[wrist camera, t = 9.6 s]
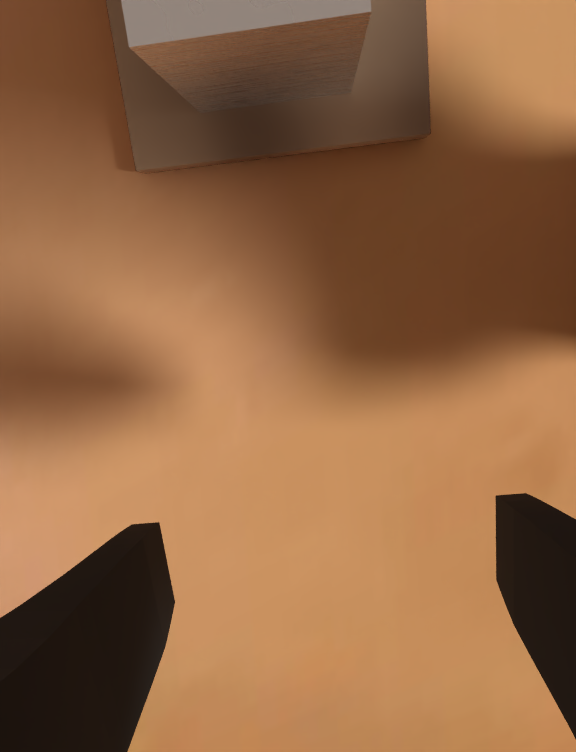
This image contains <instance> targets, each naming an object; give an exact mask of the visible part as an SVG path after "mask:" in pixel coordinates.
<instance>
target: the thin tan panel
mask: <svg viewBox="0 0 576 752" xmlns="http://www.w3.org/2000/svg"><path fill="white" fill-rule="evenodd" d="M106 4H107V10H108V15H109V21H110V27H111V32H112V38H113V44H114V49H115V55H116V60H117V66H118V72H119V77H120V83H121V89H122V94H123V100H124V106H125V111H126V117H127V123H128V128H129V134H130V140H131V145H132V151H133V157H134V162H135V168H136V171H138V172H142V173H152V172H159V171H167V170H175V169H183V168H191V167H199V166H207V165H215V164H223V163H230V162H238V161H246V160H254V159H262V158H270V157H278V156H286V155H294V154H301V153H309V152H317V151H325V150H333V149H341V148H349V147H357V146H365V145H372V144H380V143H388V142H396V141H404V140H412V139H420V138H425V137H427V136H428V135H429V134H430V133H431V129H430V102H429V74H428V47H427V19H426V0H371V15H370V19H369V23H368V27H367V31H366V35H365V39H364V43H363V47H362V51H361V55H360V59H359V63H358V67H357V71H356V75H355V79H354V83H353V87H352V91H351V93H344V94H337V95H330V96H322V97H315V98H307V99H300V100H293V101H285V102H278V103H270V104H263V105H256V106H248V107H241V108H233V109H226V110H219V111H211V112H204V113H200V112H199V111H198V110H197V109H196V108H195V107H193V106H192V105H191V104H190V103H189V102H188V101H187V100H186V99H185V98H184V97H183V96H181V95H180V94H179V93H178V92H177V91H176V90H175V89H174V88H173V87H172V86H171V85H170V84H168V83H167V82H166V81H165V80H164V79H163V78H162V77H161V76H160V75H159V74H158V73H156V72H155V71H154V70H153V69H152V68H151V67H150V66H149V65H148V64H147V63H146V62H145V61H143V60H142V59H141V58H140V57H139V56H138V55H137V54H136V53H135V52H134V51H133V50H131V49H130V48H129V44H128V38H127V32H126V26H125V20H124V14H123V9H122V3H121V0H106Z"/></svg>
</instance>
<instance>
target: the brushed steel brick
mask: <svg viewBox="0 0 576 752" xmlns="http://www.w3.org/2000/svg"><path fill="white" fill-rule="evenodd" d="M121 3H122V9H123V14H124V20H125V26H126V32H127V38H128V44H129V48H130V49H131V50H133V51H134V52H135V53H136V54H137V55H138V56H139V57H140V58H141V59H142V60H143V61H145V62H146V63H147V64H148V65H149V66H150V67H151V68H152V69H153V70H154V71H155V72H156V73H158V74H159V75H160V76H161V77H162V78H163V79H164V80H165V81H166V82H167V83H168V84H170V85H171V86H172V87H173V88H174V89H175V90H176V91H177V92H178V93H179V94H180V95H181V96H183V97H184V98H185V99H186V100H187V101H188V102H189V103H190V104H191V105H192V106H193V107H195V108H196V109H197V110H198V111H199V112H200V113H204V112H211V111H219V110H226V109H233V108H241V107H248V106H256V105H263V104H270V103H278V102H285V101H293V100H300V99H307V98H315V97H322V96H330V95H337V94H344V93H351V91H352V87H353V83H354V79H355V75H356V71H357V67H358V63H359V59H360V55H361V51H362V47H363V43H364V39H365V35H366V31H367V27H368V23H369V19H370V15H371V0H121Z"/></svg>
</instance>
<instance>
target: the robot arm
mask: <svg viewBox="0 0 576 752" xmlns="http://www.w3.org/2000/svg"><path fill="white" fill-rule="evenodd" d="M496 580H497V583H498V585H499V588H500V591H501V593H502V596H503V599H504V601H505V604H506V607H507V609H508V612H509V614H510V617H511V619H512V621H513V624H514V626H515V628H516V630H517V632H518V634H519V635H520V637H521V639H522V641H523V643H524V645H525V647H526V648H527V650H528V652H529V654H530V656H531V658H532V660H533V661H534V663H535V665H536V667H537V669H538V671H539V672H540V674H541V676H542V678H543V680H544V681H545V683H546V685H547V687H548V689H549V691H550V692H551V694H552V696H553V698H554V700H555V701H556V703H557V705H558V707H559V709H560V711H561V712H562V714H563V716H564V718H565V720H566V722H567V723H568V725H569V727H570V729H571V731H572V733H573V735H574V737H575V739H576V519H574V518H572V517H570V516H569V515H567V514H565V513H563V512H561V511H559V510H558V509H556V508H554V507H552V506H550V505H548V504H547V503H545V502H543V501H541V500H539V499H537V498H535V497H533V496H531V495H528V494H526V493H523V494H511V495H498V496H496ZM174 604H175V600H174V595H173V590H172V585H171V580H170V575H169V570H168V565H167V559H166V554H165V549H164V544H163V539H162V534H161V529H160V524H159V522H158V523H145V524H133V525H131V526H129V527H127V528H126V529H124V530H123V531H121V532H120V533H118V534H117V535H116V536H114V537H113V538H112V539H110V540H109V541H108V542H106V543H105V544H104V545H102V546H101V547H100V548H98V549H97V550H96V551H94V552H93V553H92V554H90V555H89V556H88V557H87V558H85V559H84V560H83V561H81V562H80V563H79V564H77V565H76V566H75V567H73V568H72V569H71V570H69V571H68V572H67V573H65V574H64V575H63V576H61V577H60V578H58V579H57V580H56V581H54V582H53V583H51V584H50V585H48V586H47V587H46V588H44V589H43V590H41V591H40V592H38V593H37V594H36V595H34V596H33V597H31V598H30V599H29V600H27V601H26V602H24V603H23V604H21V605H20V606H18V607H17V608H15V609H14V610H12V611H11V612H9V613H7V614H6V615H4V616H3V617H1V618H0V752H127V751H128V748H129V746H130V743H131V740H132V737H133V735H134V732H135V729H136V726H137V724H138V721H139V718H140V716H141V713H142V710H143V707H144V705H145V702H146V699H147V696H148V694H149V691H150V688H151V685H152V683H153V680H154V677H155V674H156V672H157V669H158V666H159V663H160V660H161V657H162V655H163V652H164V649H165V645H166V641H167V637H168V633H169V628H170V624H171V619H172V614H173V609H174Z"/></svg>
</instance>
